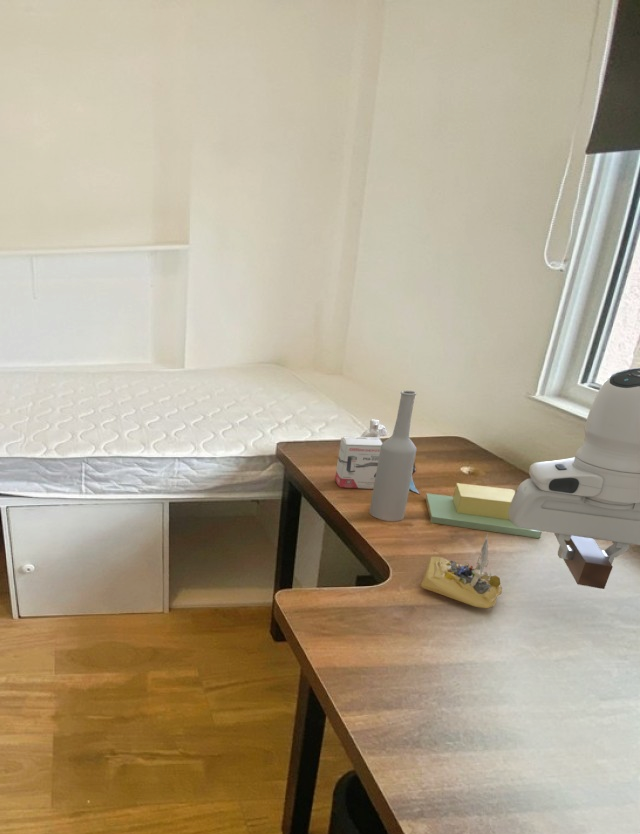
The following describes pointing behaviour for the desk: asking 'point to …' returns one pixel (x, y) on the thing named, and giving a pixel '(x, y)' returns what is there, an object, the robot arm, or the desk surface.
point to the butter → (483, 500)
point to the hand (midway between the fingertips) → (582, 560)
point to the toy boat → (463, 580)
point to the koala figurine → (375, 430)
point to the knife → (412, 486)
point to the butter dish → (470, 518)
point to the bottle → (395, 466)
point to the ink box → (358, 462)
